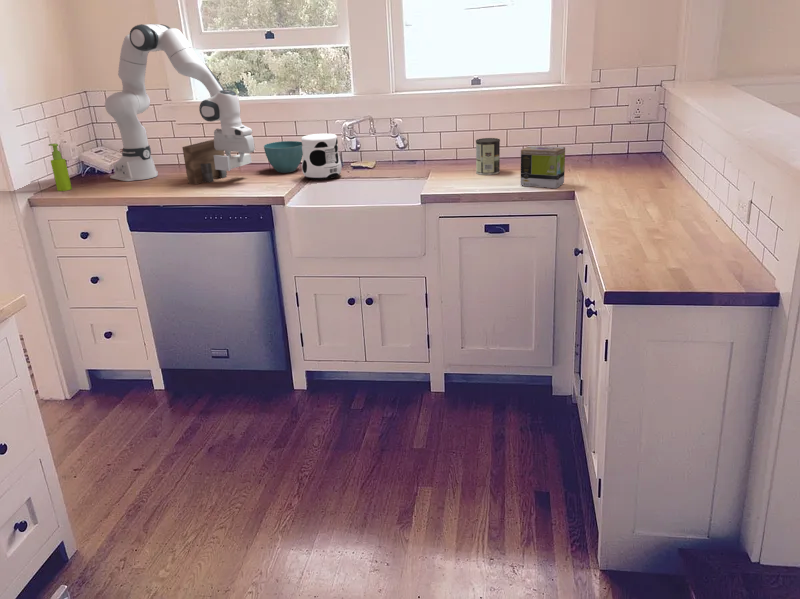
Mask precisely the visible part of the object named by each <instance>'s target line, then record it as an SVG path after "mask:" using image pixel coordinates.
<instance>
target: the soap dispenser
mask: <svg viewBox="0 0 800 599" xmlns="http://www.w3.org/2000/svg"><path fill="white" fill-rule="evenodd" d="M48 146H51V147H52V150H53V151H52V152H51V154H52V159H51V160H50V164H51V169H52V173H53V176H54V180H55V186H56V190H57V191H58V192H66V191H70V190H72V189H73V188H72V184H71V179H70V175H69V170H68V166H67V160H66V158H63V156H62V153H61V151H60V150H59V149H58V146H59V143H49V144H48Z"/></svg>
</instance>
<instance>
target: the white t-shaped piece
mask: <svg viewBox="0 0 800 599" xmlns="http://www.w3.org/2000/svg"><path fill="white" fill-rule="evenodd" d="M231 156H232V155H231ZM239 156H240V155H239V154H237V155H233V156H232V157H229V156H227V155H224V156H220V155H214V162H215V170H225V171H227V172H230V171H231V170H233V169H235V168H239V167H243V166H246V165H248V164H252V155H251V153H244V156H243V162H238V158H239Z"/></svg>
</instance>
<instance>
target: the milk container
mask: <svg viewBox="0 0 800 599" xmlns="http://www.w3.org/2000/svg"><path fill="white" fill-rule="evenodd" d="M301 142H302V152H303V156H302V161H301V162H302V164H301V169H302V170H301V171H302V174H303V176H304V177H305V178H306V179H309V180H317V181H319V180H330V179H333V178H336V177H338V176H340V175H341V174H342V161H341V158H340V155H339V154H340V153H339V144H338V135H337V134H334V133H314V134H313V133H312V134H307V135H304V136H301Z"/></svg>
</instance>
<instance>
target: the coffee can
mask: <svg viewBox="0 0 800 599" xmlns="http://www.w3.org/2000/svg"><path fill="white" fill-rule="evenodd" d="M500 142H501V139H500V138H496V137H485V138H484V137H483V138H482V137H481V138H477V139H475V159H476V160H475V168H476V170H475V171H476V174H477V175H480V176H492V175H498V174H500V170H501V168H500V167H501V166H500V162H501V161H500V159H501V158H500V155H501V154H500V150H501V148H500V147H501V145H500V144H501V143H500Z"/></svg>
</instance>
